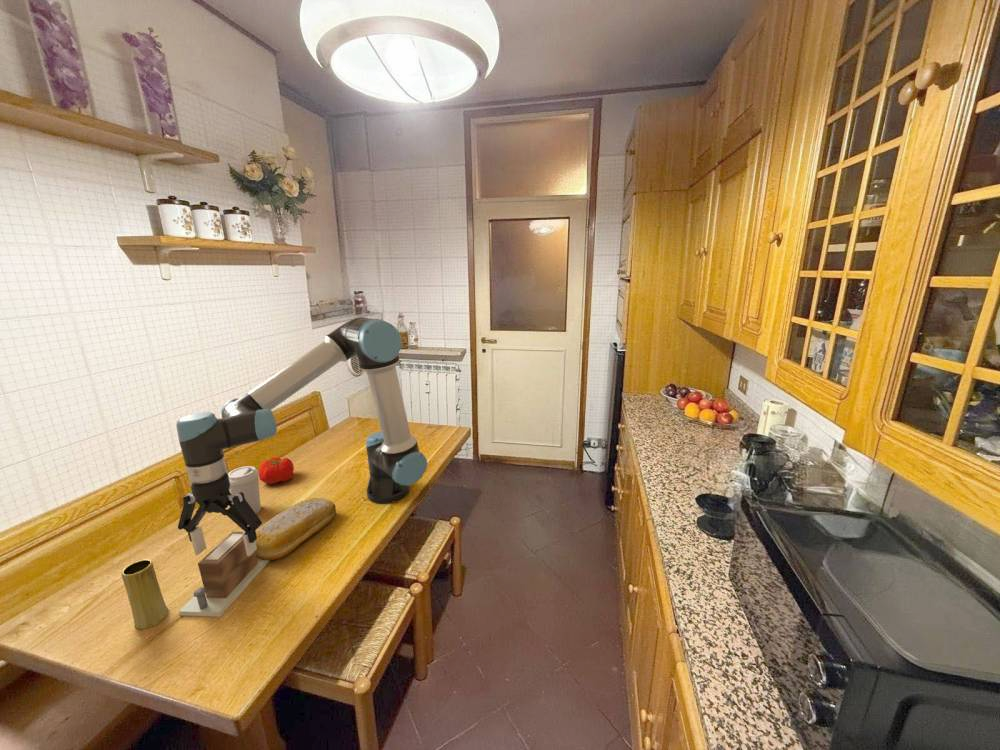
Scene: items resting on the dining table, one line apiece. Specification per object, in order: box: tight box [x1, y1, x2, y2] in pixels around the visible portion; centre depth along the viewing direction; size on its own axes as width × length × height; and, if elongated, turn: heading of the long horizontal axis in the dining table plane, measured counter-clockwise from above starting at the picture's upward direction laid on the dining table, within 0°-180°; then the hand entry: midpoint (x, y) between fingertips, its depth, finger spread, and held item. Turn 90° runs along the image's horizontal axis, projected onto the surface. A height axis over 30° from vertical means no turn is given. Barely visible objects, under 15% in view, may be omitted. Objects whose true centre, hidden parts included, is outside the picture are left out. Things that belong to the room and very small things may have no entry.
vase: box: [121, 559, 170, 630], centre depth 92 cm, size 6×6×14 cm
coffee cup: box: [227, 465, 262, 514], centre depth 134 cm, size 10×10×15 cm
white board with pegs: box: [178, 556, 271, 618], centre depth 103 cm, size 10×20×6 cm, turn 176°
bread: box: [255, 497, 337, 561], centre depth 122 cm, size 13×26×8 cm, turn 164°
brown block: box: [197, 531, 258, 598], centre depth 102 cm, size 12×5×10 cm, turn 177°
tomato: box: [258, 456, 295, 485], centre depth 155 cm, size 13×12×8 cm
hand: (226, 552), depth 101 cm, fingers open, 13 cm apart
